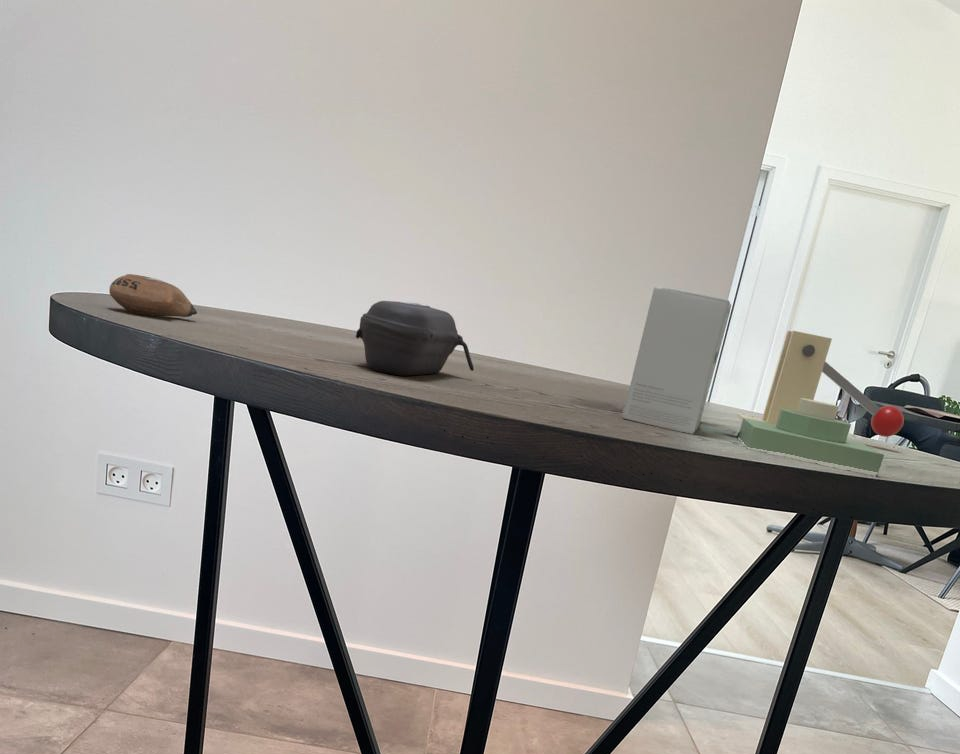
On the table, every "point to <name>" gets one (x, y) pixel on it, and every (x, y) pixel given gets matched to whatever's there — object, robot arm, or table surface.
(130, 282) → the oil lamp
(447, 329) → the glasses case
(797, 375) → the bracket
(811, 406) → the button
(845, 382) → the lever
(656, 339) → the white packaging box
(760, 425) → the button box
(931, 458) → the table surface
